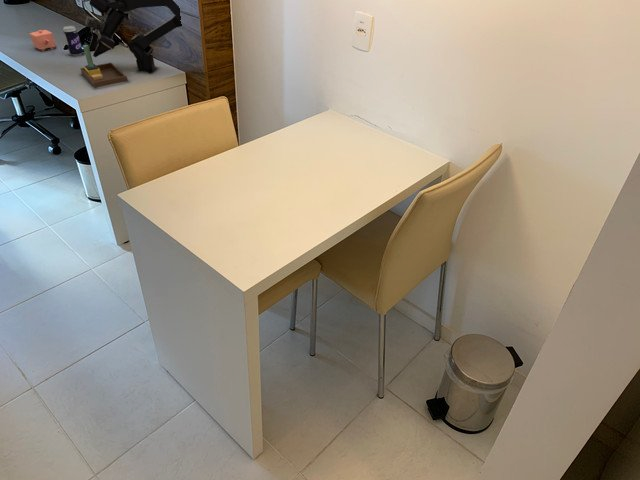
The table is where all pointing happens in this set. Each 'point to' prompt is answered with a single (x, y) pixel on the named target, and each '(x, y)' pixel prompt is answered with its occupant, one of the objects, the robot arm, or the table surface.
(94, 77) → the tan rectangular slab
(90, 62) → the sponge wand
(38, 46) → the pink cube teapot
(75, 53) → the beverage can
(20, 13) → the table surface
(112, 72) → the tray
